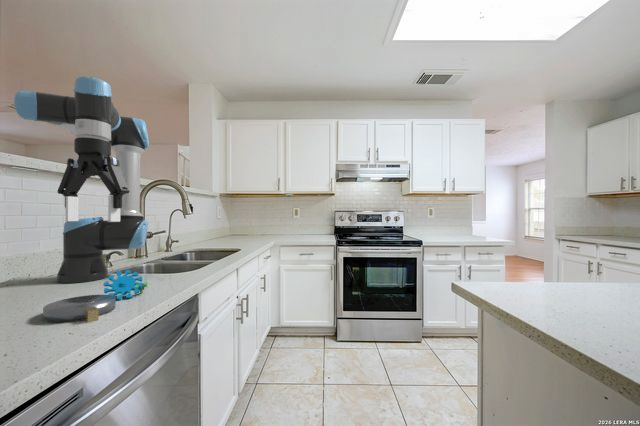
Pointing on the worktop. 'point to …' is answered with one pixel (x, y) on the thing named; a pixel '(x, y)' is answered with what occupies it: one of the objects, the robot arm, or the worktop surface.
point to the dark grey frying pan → (79, 308)
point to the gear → (124, 285)
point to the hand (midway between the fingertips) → (92, 221)
